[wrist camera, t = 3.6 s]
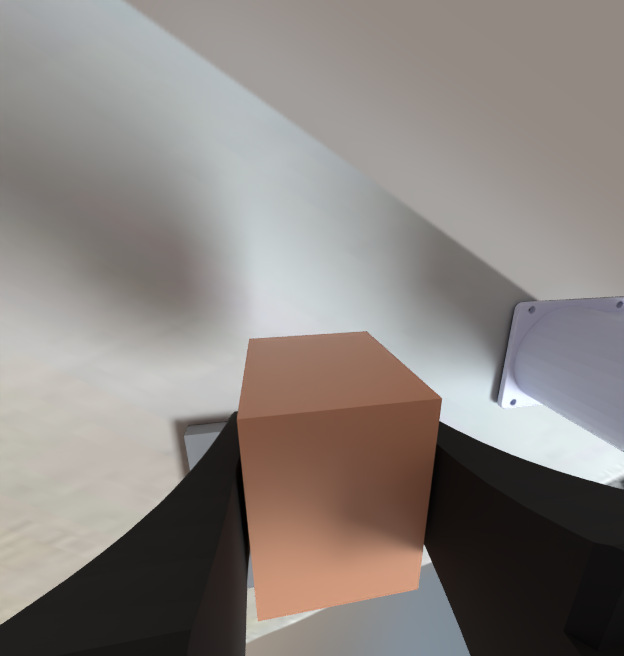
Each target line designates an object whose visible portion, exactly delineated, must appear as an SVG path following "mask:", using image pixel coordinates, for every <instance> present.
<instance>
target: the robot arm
mask: <svg viewBox="0 0 624 656" xmlns="http://www.w3.org/2000/svg"><path fill="white" fill-rule="evenodd" d="M530 307H531V309H530V311H529V308H530ZM511 400H512V401H511ZM541 404H543V405H545V406H546V407H548V408H550V409H551V410H553V411H555V412H556V413H558V414H560V415H562V416H563V417H565V418H567V419H568V420H570V421H572V422H573V423H575V424H577V425H579V426H580V427H582V428H584V429H585V430H587V431H589V432H590V433H592V434H594V435H596V436H597V437H599V438H601V439H602V440H604V441H606V442H607V443H609V444H611V445H613V446H614V447H616V448H618V449H619V450H621V451H623V452H624V296H620V297H603V298H584V299H569V300H568V299H566V300H549V301H531V302H521V303H519V304H517V306H516V307H515V311H514V316H513V321H512V327H511V332H510V337H509V343H508V348H507V353H506V359H505V364H504V369H503V375H502V380H501V385H500V391H499V396H498V405H499V406H500V407H502V408H505V409H506V408H515V407H524V406H533V405H541ZM237 415H238V411H237V412H234V413H233V414H232V415H231V417H230V418H229V420H228V422H227V423H226V425H225V426H224V428H223V429H222V431H221V432H220V434H219V435H218V436H217V438H216V439H215V441H214V442H213V443H212V445H211V446H210V447H209V449H208V450H207V451H206V453H205V454H204V455H203V456H202V458H201V459H200V460H199V461H198V462H197V464H196V465H195V466H194V467H193V468H192V470H191V471H190V472H189V473H188V474H187V475H186V477H185V478H184V479H183V480H182V481H181V482H180V483H179V484H178V485H177V486H176V487H175V488H174V490H173V491H172V492H171V493H170V494H169V495H168V496H167V497H166V498H165V499H164V500H163V501H162V502H161V503H160V504H159V505H157V506H156V507H155V508H154V509H153V510H152V511H151V512H150V513H148V514H147V515H146V516H145V517H144V518H143V519H142V520H141V521H139V522H138V523H137V524H136V525H135V526H134V527H133V528H132V529H130V530H129V531H128V532H127V533H126V534H125V535H123V536H122V537H121V538H120V539H118V540H117V541H116V542H115V543H113V544H112V545H111V546H110V547H109V548H107V549H106V550H105V551H104V552H102V553H101V554H100V555H98V556H97V557H96V558H94V559H93V560H92V561H90V562H89V563H88V564H87V565H85V566H84V567H83V568H81V569H80V570H79V571H77V572H76V573H74V574H73V575H72V576H70V577H69V578H68V579H66V580H65V581H64V582H62V583H61V584H59V585H58V586H56V587H55V588H53V589H52V590H51V591H49V592H48V593H46V594H45V595H43V596H42V597H40V598H39V599H38V600H36V601H35V602H33V603H32V604H30V605H29V606H27V607H26V608H25V609H23V610H22V611H20V612H19V613H17V614H16V615H14V616H13V617H12V618H10V619H9V620H7V621H5V622H4V623H2V624H1V625H0V656H245V645H246V609H247V579H248V566H249V556H250V540H249V531H248V521H247V512H246V502H245V493H244V483H243V474H242V464H241V455H240V445H239V436H238V426H237ZM424 545H425V547H426V549H427V552H428V554H429V556H430V558H431V561H432V563H433V565H434V568H435V570H436V572H437V574H438V577H439V579H440V581H441V584H442V586H443V588H444V591H445V593H446V596H447V598H448V601H449V603H450V605H451V608H452V610H453V613H454V615H455V617H456V620H457V622H458V625H459V627H460V630H461V632H462V635H463V637H464V640H465V643H466V645H467V648H468V650H469V653H470V655H471V656H624V490H623V489H619V488H615V487H611V486H607V485H604V484H600V483H597V482H593V481H589V480H586V479H582V478H579V477H575V476H572V475H569V474H566V473H562V472H559V471H556V470H553V469H550V468H547V467H544V466H541V465H538V464H536V463H533V462H530V461H527V460H524V459H522V458H519V457H516V456H514V455H511V454H509V453H506V452H504V451H501V450H499V449H497V448H494V447H492V446H489V445H487V444H485V443H482V442H480V441H478V440H476V439H474V438H472V437H470V436H468V435H466V434H464V433H462V432H460V431H457V430H455V429H454V428H452V427H450V426H448V425H446V424H444V423H442V422H440V421H439V426H438V434H437V442H436V450H435V458H434V466H433V474H432V482H431V490H430V497H429V505H428V513H427V521H426V529H425V537H424Z"/></svg>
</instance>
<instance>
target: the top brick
mask: <svg viewBox="0 0 624 656" xmlns="http://www.w3.org/2000/svg"><path fill="white" fill-rule="evenodd" d="M441 403H442V398H441V397H440V396H439V395H438V394H437V393H435V392H434V391H433V390H432V389H431V388H430V387H429V386H428V385H426V384H425V383H424V382H423V381H422V380H421V379H420V378H419V377H417V376H416V375H415V374H414V373H413V372H412V371H411V370H410V369H408V368H407V367H406V366H405V365H404V364H403V363H402V362H401V361H399V360H398V359H397V358H396V357H395V356H394V355H393V354H392V353H390V352H389V351H388V350H387V349H386V348H385V347H384V346H383V345H381V344H380V343H379V342H378V341H377V340H376V339H375V338H374V337H372V336H371V335H370V334H369V333H368V332H367V331H365V332H349V333H334V334H318V335H303V336H287V337H272V338H256V339H249V344H248V350H247V357H246V363H245V370H244V376H243V383H242V389H241V396H240V402H239V408H238V415H237V426H238V436H239V445H240V455H241V464H242V474H243V483H244V493H245V502H246V512H247V521H248V531H249V540H250V550H251V559H252V569H253V578H254V588H255V597H256V607H257V616H258V621H262V620H267V619H272V618H277V617H281V616H286V615H291V614H296V613H301V612H306V611H311V610H316V609H321V608H326V607H331V606H336V605H341V604H346V603H351V602H356V601H361V600H366V599H371V598H376V597H381V596H386V595H391V594H396V593H401V592H406V591H411V590H416V589H418V584H419V577H420V568H421V561H422V553H423V545H424V537H425V529H426V521H427V513H428V505H429V497H430V490H431V482H432V474H433V466H434V458H435V450H436V442H437V434H438V426H439V418H440V410H441Z"/></svg>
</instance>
